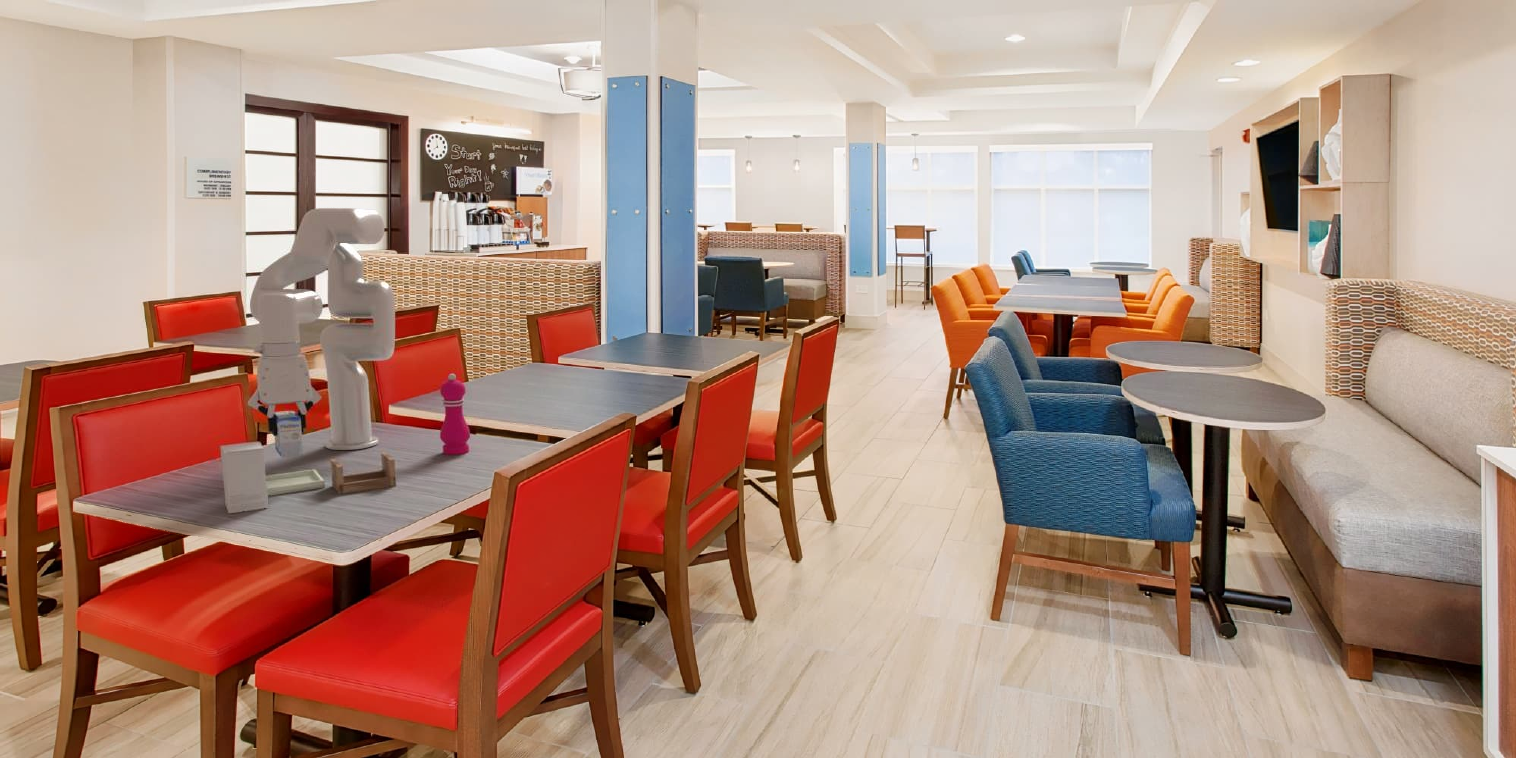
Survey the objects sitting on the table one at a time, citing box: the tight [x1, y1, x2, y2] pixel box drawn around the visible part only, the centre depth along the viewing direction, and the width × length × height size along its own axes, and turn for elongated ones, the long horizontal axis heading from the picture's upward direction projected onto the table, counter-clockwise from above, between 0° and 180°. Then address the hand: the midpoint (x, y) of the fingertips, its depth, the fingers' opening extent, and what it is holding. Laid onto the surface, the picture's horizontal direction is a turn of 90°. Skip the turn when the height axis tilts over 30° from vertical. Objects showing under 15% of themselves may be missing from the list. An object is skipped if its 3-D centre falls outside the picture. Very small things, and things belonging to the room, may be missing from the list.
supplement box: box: [220, 441, 269, 514], centre depth 190 cm, size 7×7×13 cm
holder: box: [329, 451, 397, 495], centre depth 206 cm, size 8×12×6 cm, turn 125°
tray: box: [266, 468, 326, 497], centre depth 206 cm, size 11×11×2 cm
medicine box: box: [274, 410, 304, 458], centre depth 204 cm, size 8×4×9 cm, turn 35°
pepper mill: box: [439, 373, 471, 456], centre depth 235 cm, size 7×7×20 cm
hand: (287, 432), depth 204 cm, fingers closed on medicine box, 4 cm apart
